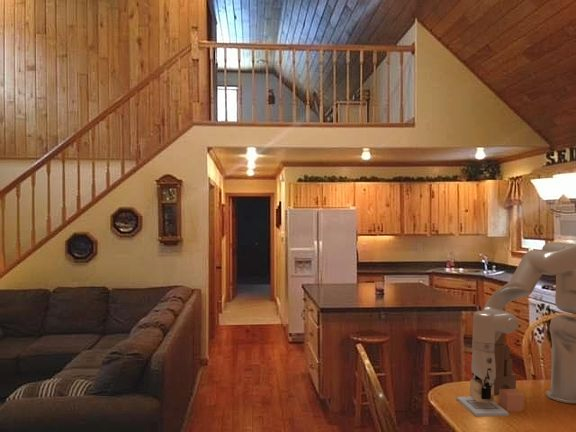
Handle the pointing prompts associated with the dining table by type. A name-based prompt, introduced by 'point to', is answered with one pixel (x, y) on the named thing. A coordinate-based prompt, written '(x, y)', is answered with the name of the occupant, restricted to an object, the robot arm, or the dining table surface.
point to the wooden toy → (503, 365)
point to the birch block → (479, 390)
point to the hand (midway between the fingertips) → (481, 395)
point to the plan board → (482, 407)
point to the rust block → (511, 399)
